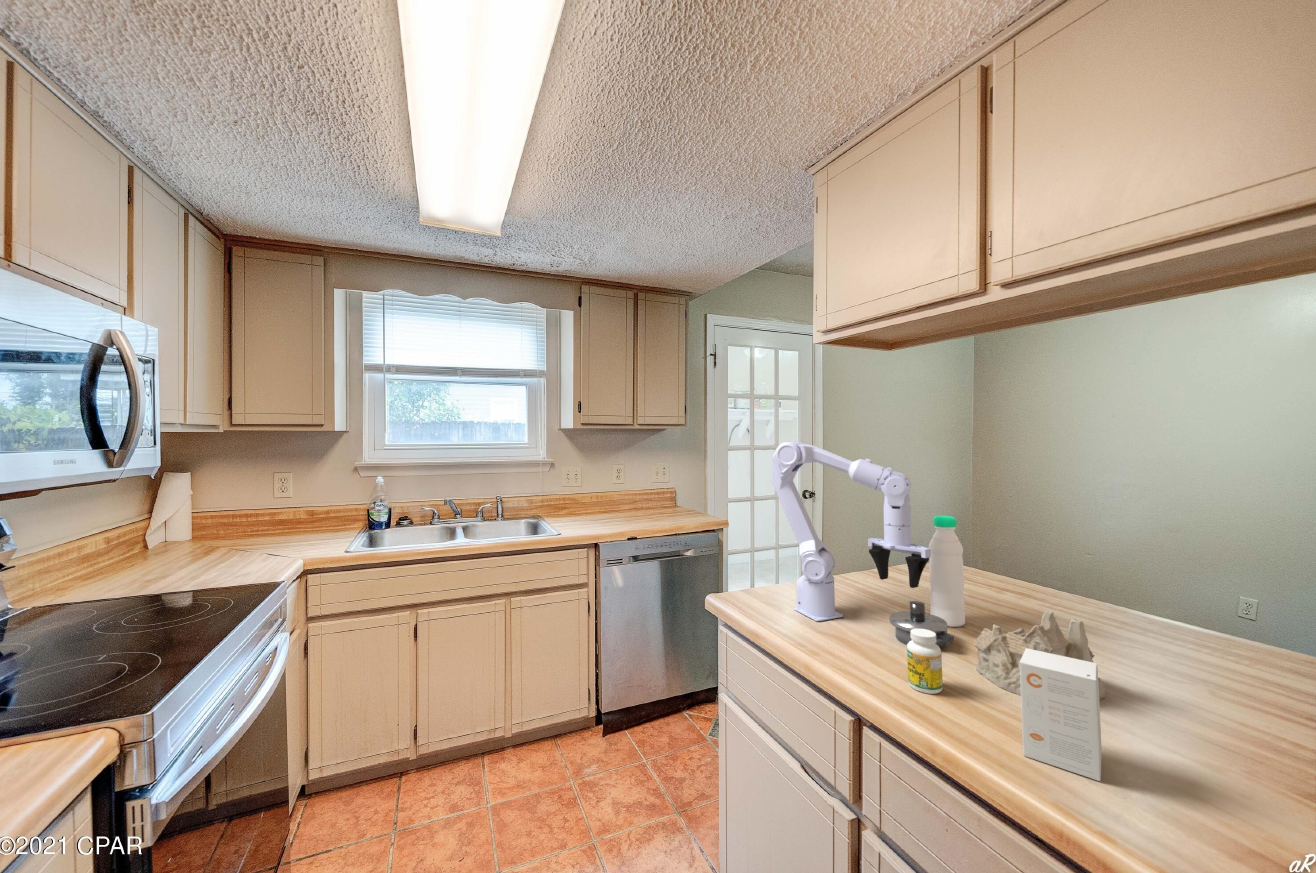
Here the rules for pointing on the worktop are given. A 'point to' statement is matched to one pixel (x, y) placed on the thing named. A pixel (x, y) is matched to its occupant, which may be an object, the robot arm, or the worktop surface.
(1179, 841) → the worktop surface
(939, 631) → the lid
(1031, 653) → the small box
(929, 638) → the supplement bottle
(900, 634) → the pot
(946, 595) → the water bottle
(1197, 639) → the worktop surface
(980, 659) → the ceramic cottage
